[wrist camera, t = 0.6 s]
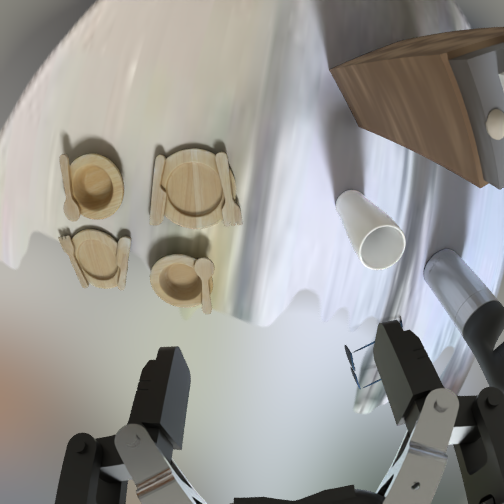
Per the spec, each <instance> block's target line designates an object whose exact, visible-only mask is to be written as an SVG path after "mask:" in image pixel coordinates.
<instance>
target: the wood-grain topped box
mask: <svg viewBox="0 0 504 504" xmlns="http://www.w3.org/2000/svg"><path fill="white" fill-rule="evenodd" d="M329 71H330V72H331V74H332V76H333V78H334V80H335V81H336V83H337V85H338V87H339V89H340V91H341V92H342V94H343V96H344V98H345V100H346V102H347V104H348V106H349V108H350V110H351V112H352V114H353V116H354V118H355V120H356V122H357V124H358V126H359V127H361V128H363V129H365V130H368V131H370V132H373V133H375V134H377V135H380V136H382V137H384V138H386V139H389V140H391V141H393V142H395V143H397V144H399V145H401V146H404V147H406V148H408V149H410V150H412V151H414V152H416V153H418V154H420V155H422V156H424V157H426V158H428V159H430V160H432V161H433V162H435V163H437V164H439V165H441V166H443V167H445V168H446V169H448V170H450V171H452V172H454V173H455V174H457V175H459V176H460V177H462V178H464V179H466V180H467V181H469V182H471V183H472V184H474V185H476V186H477V187H479V188H482V187H483V186H485V185H487V184H488V183H490V184H491V185H493V186H495V187H496V188H498V189H502V188H504V91H503V87H502V84H501V81H500V78H499V75H498V74H500V73H503V72H504V27H492V28H479V29H469V30H460V31H452V32H445V33H439V34H432V35H427V36H421V37H416V38H411V39H406V40H402V41H399V42H396V43H393V44H390V45H388V46H385V47H382V48H380V49H377V50H375V51H372V52H369V53H367V54H364V55H362V56H360V57H357V58H355V59H352V60H350V61H348V62H345V63H343V64H341V65H339V66H336V67H334V68H332V69H330V70H329Z"/></svg>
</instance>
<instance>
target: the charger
mask: <svg viewBox="0 0 504 504" xmlns="http://www.w3.org/2000/svg"><path fill="white" fill-rule="evenodd" d="M498 75H499V78H500V81H501V84H502V87H503V91H504V72H503V73H500V74H498Z"/></svg>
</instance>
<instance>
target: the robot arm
mask: <svg viewBox="0 0 504 504" xmlns="http://www.w3.org/2000/svg"><path fill="white" fill-rule="evenodd" d="M424 279H425V281H426V283H427V284H428V285H429V287H430V288H431V290H432V291H433V293H434V294H435V295H436V297H437V298H438V300H439V301H440V303H441V304H442V306H443V307H444V309H445V310H446V312H447V313H448V315H449V316H450V318H451V319H452V321H453V322H454V324H455V325H456V327H457V328H458V330H459V331H460V333H461V335H462V336H463V338H464V339H465V341H466V343H467V344H468V346H469V347H470V349H471V350H472V352H473V354H474V355H475V357H476V359H477V361H478V363H479V365H480V367H481V369H482V371H483V373H484V375H485V377H486V380H487V382H488V384H489V386H490V387H487V388H484V389H483V390H482V391H481V392H480V393H479V395H478V396H456V395H455V394H454V393H453V392H452V391H450V390H448V389H445V388H444V387H443V385H442V383H441V381H440V379H439V377H438V374H437V372H436V370H435V368H434V366H433V364H432V362H431V360H430V358H429V357H428V354H427V352H426V350H425V349H424V347H423V345H422V343H421V341H420V339H419V337H417V336H416V335H415V334H414V333H413V332H412V331H411V330H407V331H403V329H402V327H401V325H400V323H399V321H398V320H393V321H388V322H383V323H379V325H378V329H377V334H376V339H375V344H374V349H373V353H374V360H375V363H376V366H377V369H378V371H379V374H380V377H381V380H382V382H383V385H384V388H385V391H386V394H387V397H388V400H389V403H390V406H391V408H392V412H393V415H394V418H395V421H396V424H397V426H398V425H402V424H406V427H407V431H406V434H405V436H404V439H403V441H402V443H401V445H400V448H399V450H398V452H397V454H396V456H395V458H394V461H393V463H392V465H391V467H390V469H389V470H388V472H387V474H386V475H385V477H384V479H383V481H382V482H381V484H380V486H379V488H378V489H377V491H376V493H374V492H371V491H367V490H359V489H354V485H349V486H344V487H340V488H334V489H328V490H324V491H321V492H319V493H316V494H314V495H311V496H308V497H305V498H303V499H300V500H296V501H289V500H281V499H274V498H267V497H251V498H234V503H231V504H431V501H432V498H433V497H434V494H435V492H436V490H437V487H438V485H439V482H440V480H441V477H442V474H443V472H444V469H445V466H446V463H447V455H446V450H447V447H448V444H453V445H454V448H455V452H456V456H457V459H458V463H459V467H460V470H461V474H462V478H463V482H464V487H465V491H466V495H467V500H468V504H504V342H503V343H502V344H501V345H500V346H498V347H497V348H496V349H495V350H494V351H493V349H494V346H495V344H496V342H497V340H498V338H499V336H500V334H501V333H502V331H503V329H504V307H503V306H502V304H501V303H500V302H499V301H498V300H497V298H496V297H495V296H494V295H493V294H492V292H491V291H490V290H489V289H488V288H487V287H486V285H485V284H484V283H483V282H482V281H481V280H480V278H479V277H478V276H477V275H476V274H475V273H474V272H473V271H472V269H471V268H470V267H469V266H468V265H467V264H466V263H465V262H464V261H463V260H462V259H461V257H460V256H459V255H458V254H457V253H456V252H455V251H453V250H451V249H444V250H441V251H439V252H437V253H436V254H435V255H433V256H432V257H431V259H430V260H429V261H428V263H427V265H426V267H425V270H424ZM190 379H191V378H190V371H189V368H188V366H187V364H186V361H185V359H184V357H183V355H182V352H181V350H180V348H179V347H178V346H177V347H160V348H159V351H158V354H157V358H156V360H149V361H148V363H147V364H146V365H145V367H144V368H143V370H142V373H141V376H140V382H139V383H138V388H137V391H136V394H135V398H134V402H133V406H132V410H131V414H130V418H129V421H128V423H127V425H125V426H123V427H122V428H121V429H120V430H119V431H118V432H117V433H116V435H113V436H109V437H103V438H97V439H94V438H93V437H92V436H91V435H89V434H87V433H79V434H76V435H74V436H73V437H72V438H71V439H70V441H69V442H68V445H67V449H66V453H65V457H64V461H63V465H62V470H61V475H60V480H59V484H58V489H57V495H56V500H55V504H125V502H126V493H127V484H128V480H132V479H133V481H134V483H135V485H136V487H137V490H136V494H137V496H138V498H139V500H140V502H141V504H207V502H206V501H205V500H204V499H203V498H202V497H201V496H200V495H199V494H198V493H197V491H196V490H195V489H194V488H193V486H192V485H191V484H190V482H189V481H188V480H187V479H186V477H185V476H184V474H183V473H182V472H181V470H180V469H179V467H178V466H177V464H176V463H175V462H174V460H173V459H172V451H173V449H177V450H181V449H182V441H183V434H184V426H185V418H186V411H187V404H188V397H189V390H190V382H191V380H190Z"/></svg>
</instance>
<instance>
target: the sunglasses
mask: <svg viewBox="0 0 504 504" xmlns="http://www.w3.org/2000/svg"><path fill="white" fill-rule="evenodd" d="M399 322H400V325H401V327H403V326H402V320H400V321H399ZM373 343H375V341H374V342H372V343H370V344H368V345H366V346H364V347H362V348H360V349H358V350H361V349H363V348H365V347H367V346H369V345H371V344H373ZM345 350H346V354H347V357H348V360H349V362H350V364H351V366H352V368H353V369H352V368H351V371H352V374H353V376H354V379H355V381H356V383H357V385H358V386H359V384H358V380H357V377H356V374H355V373H354V371H353V370H355V367H354V363H353V358H352V353H351V352H350V350H349V349H348V347H347V346H346V345H345ZM358 350H356V351H358ZM380 380H381V379H379V380H377V381H375V382H373V383H371V384H369V385H372V384H374V383H376V382H378V381H380ZM369 385H367V386H369ZM367 386H365V387H367ZM365 387H363V388H365ZM359 388H360V386H359ZM360 389H361V388H360Z"/></svg>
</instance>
